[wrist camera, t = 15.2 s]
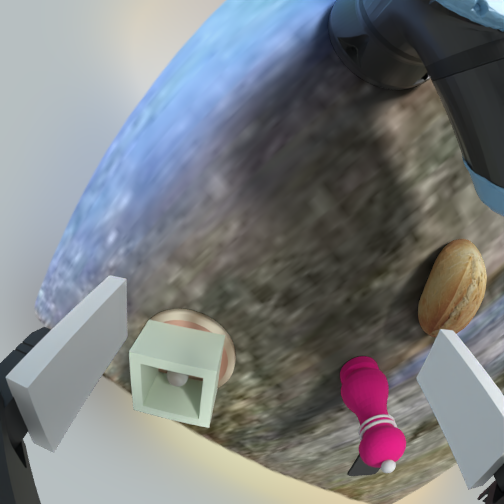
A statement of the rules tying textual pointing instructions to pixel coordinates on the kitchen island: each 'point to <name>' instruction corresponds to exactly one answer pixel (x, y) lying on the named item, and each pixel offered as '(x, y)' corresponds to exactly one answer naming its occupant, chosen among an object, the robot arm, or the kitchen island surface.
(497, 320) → the kitchen island surface
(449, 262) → the bread roll
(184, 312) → the post stand
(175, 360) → the square ring
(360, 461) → the phone
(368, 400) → the pepper mill
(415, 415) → the kitchen island surface
